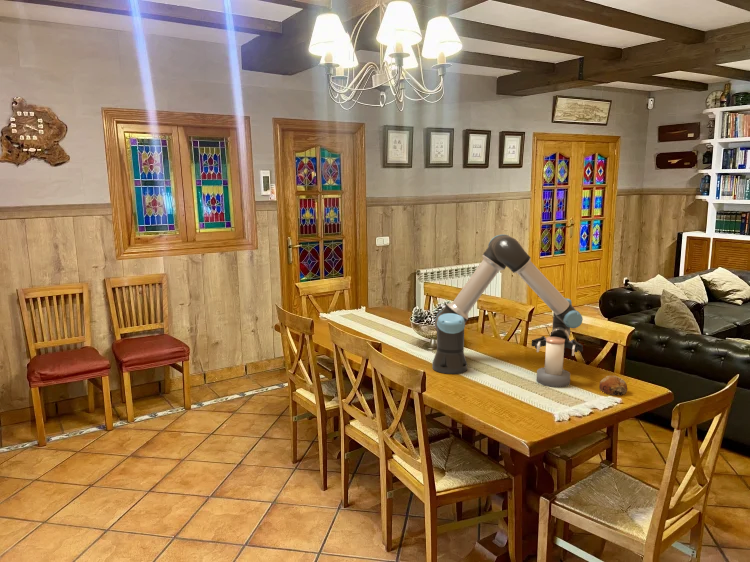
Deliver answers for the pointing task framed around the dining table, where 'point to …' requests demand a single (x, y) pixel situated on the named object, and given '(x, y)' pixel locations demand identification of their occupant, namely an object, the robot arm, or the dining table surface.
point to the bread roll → (613, 385)
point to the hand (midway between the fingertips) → (555, 350)
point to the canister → (554, 355)
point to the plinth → (553, 378)
